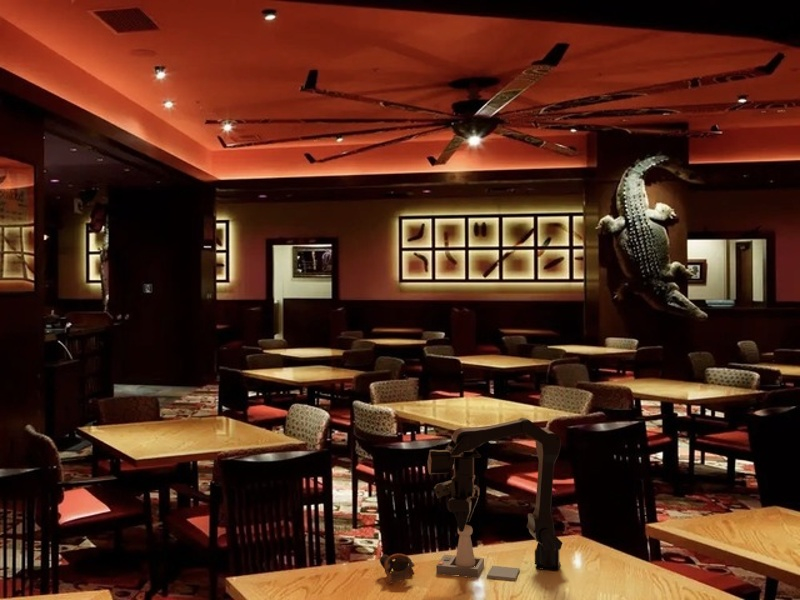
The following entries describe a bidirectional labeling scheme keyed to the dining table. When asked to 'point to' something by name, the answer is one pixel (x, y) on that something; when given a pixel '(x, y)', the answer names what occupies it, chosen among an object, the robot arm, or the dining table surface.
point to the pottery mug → (397, 567)
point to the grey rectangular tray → (458, 567)
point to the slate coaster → (503, 573)
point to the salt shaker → (465, 548)
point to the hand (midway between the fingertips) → (464, 526)
